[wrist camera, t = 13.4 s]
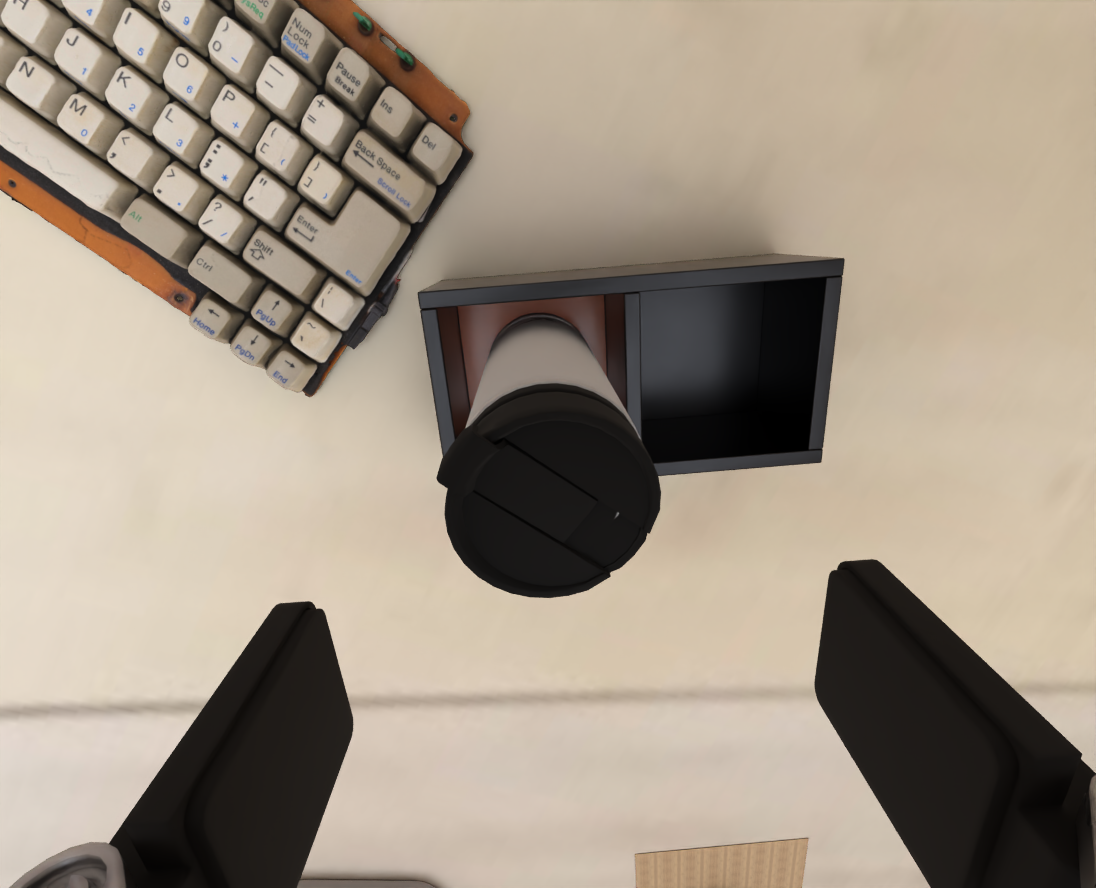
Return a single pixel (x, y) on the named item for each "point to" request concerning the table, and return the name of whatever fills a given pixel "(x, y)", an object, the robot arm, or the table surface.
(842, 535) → the table surface
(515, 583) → the travel mug
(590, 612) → the table surface
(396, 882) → the grey flat block
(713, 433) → the caddy
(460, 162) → the mechanical keyboard
